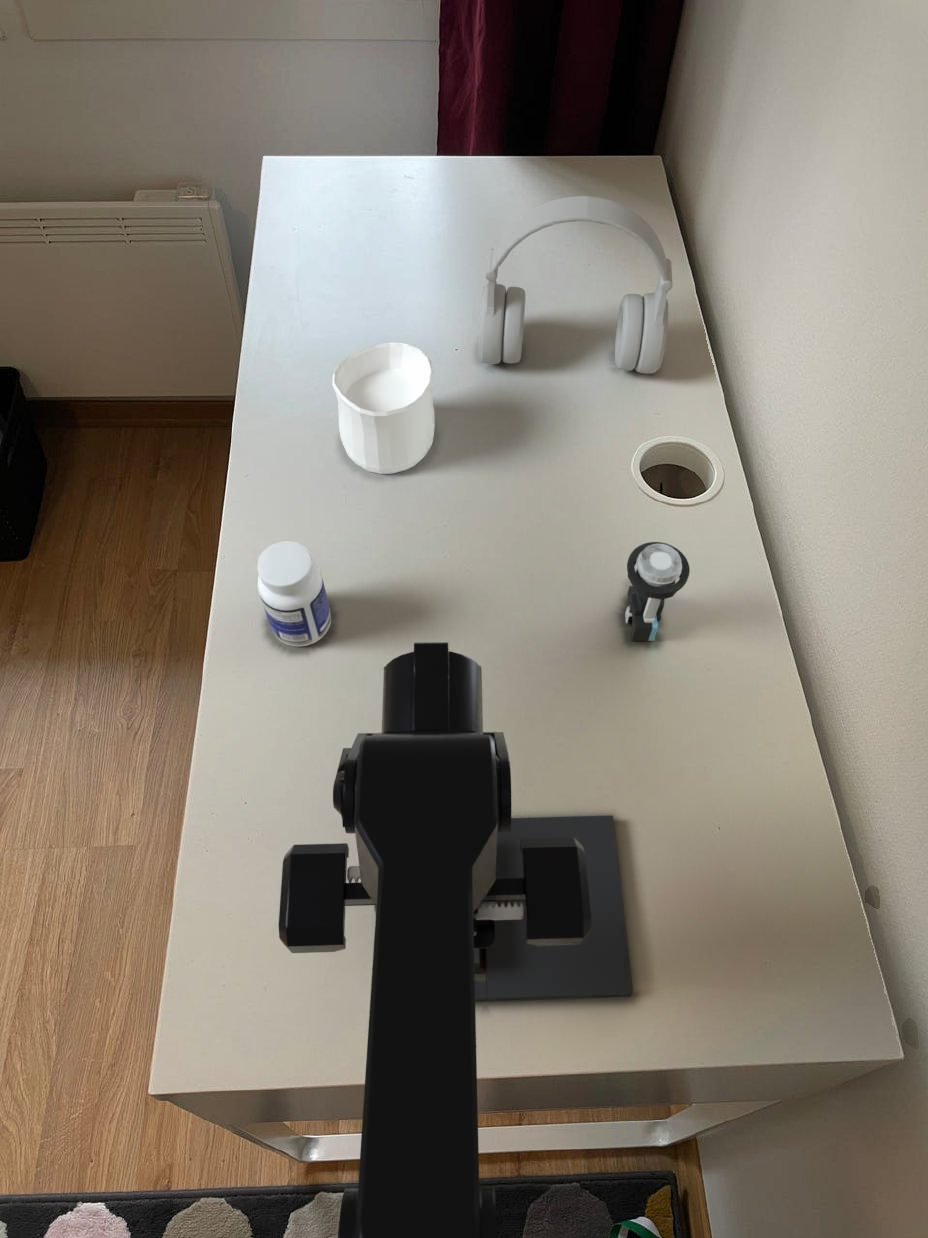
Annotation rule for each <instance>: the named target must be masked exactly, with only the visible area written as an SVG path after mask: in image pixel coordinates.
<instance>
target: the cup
mask: <svg viewBox="0 0 928 1238" xmlns="http://www.w3.org/2000/svg"><path fill="white" fill-rule="evenodd" d="M433 380H434V369H433V365H432V361H431V359H430V358H429V357H428V356H427V355H426V354H425V353H424V352H423V351H422V350H421V349H420V348H418V347H415V346H412V345H410V344H407V343H406V342H405V343H404V342H395V341H394V342H393V341H389V342H384V343H378V344H373V345H372V346H369V347H366V348H363V349H361V350H359V351H357V352H355V353H353V354H352V355H349V356H348V357H346V358H345V359H344V360H342V361H341V362H340V363H339V364H337V367H336V368H335V370H334V372H333V374H332V380H331V381H332V388H333V390H334V393H335V396H336V399H337V406H338V430H339V434H340V435H339V436H340V441H341V443H342V445H343V447H344V450H345V452H346V454H347V456H348V457H349V458H350V459H351V460H352V461H353V462H354V463H355V464H356V465H357V466H359V467H361V468H363V469H364V470H365V471H368V472H370V473H374V474H378V475H391V474H393V475H394V474H396V473H400V472H404V471H408V470H409V469H411V468H413V467H415V466H416V465H417V464H418V463H419V462H420V461H422V460H423V459H424V458H425V456H426V455H427V454H428V452H429V450H430V449H431V448H432V445H433V441H434V436H435V429H436V426H435V424H436V422H435V421H436V420H435V419H436V418H435V408H434V401H433Z"/></svg>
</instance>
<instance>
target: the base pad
mask: <svg viewBox="0 0 928 1238" xmlns="http://www.w3.org/2000/svg"><path fill="white" fill-rule="evenodd" d="M559 837H574V838H575V839H576V840H577V841H578V842H579V843H580V844H581V845H582V846H583V848H584V851H585V857H586V867H587V877H588V887H589V897H590V908H591V930H590V932H589V934H588V936H587V937H586V938H585V939H584V940H583V942H582V943H581V944H580V945H554V946H536V945H531V944H527V943H526V931H527V926H526V910H525V916H524V918H523V919H521V920H495V941H494V943H493V944H492V945H491V946H490V947H488V948H484V960H485V961H484V962H485V980H475V1003H484V1002H515V1001H546V1000H547V1001H548V1000H549V1001H551V1000H577V999H578V1000H579V999H610V998H615V999H616V998H631V997H632V996H633V995H634V989H633V982H632V981H633V980H632V971H631V961H630V953H629V945H628V936H627V926H626V917H625V909H624V901H623V892H622V883H621V876H620V866H619V857H618V850H617V849H618V848H617V840H616V839H617V838H616V832H615V822H614V815H610V814H609V815H576V816H544V817H542V816H541V817H539V816H538V817H511V830H510V832H497V855H496V878H495V879H503V878H523V862H522V853H521V848H520V842H521V839H523V838H559ZM508 902H510V904H511V906H512V907H513V905H514V902H516V903H517V905H518V906H520V903H521V902H523V904H524V906H525V901H506V902H503V903H504V905H505V907H507V904H508ZM501 903H502V902H497V904H498V906H499V907H500V906H501Z"/></svg>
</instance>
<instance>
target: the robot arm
mask: <svg viewBox="0 0 928 1238" xmlns="http://www.w3.org/2000/svg"><path fill="white" fill-rule="evenodd" d="M449 648H450V647H449V642H448V641H443V642H442V641H441V642H435V641H434V642H431V641H430V642H426V641H425V642H414V643H413V651H410V652H407V653H403V654H401V655H399V656H396V657H394V658H392V660H389V662H388V663H387V664H386V665H385V666H384V667H383V680H382V683H383V684H382V687H383V688H382V710H381V712H382V713H381V732H358V733H357V734H356V737H355V739H354V741H353V743H352V746H351V747H343V748H342V752H341V755H340V758H339V763H338V767H337V771H336V774H335V778H334V782H333V787H332V806H333V808H334V810H335V811H336V812H338V814H339V815H340V816H341V820H342V828H344V832H345V833H346V834H355V841H356V849H357V858H358V865H350V866H349V867H347V866H348V859H349V858H350V857H349V856H350V855H349V854H350V847H349V844H348V842H347V843H344V842H343V843H340V842H339V843H312V844H311V843H309V844H308V843H307V844H303V843H302V844H293V845H291V848H290V849H288V851H287V852H286V853H285V854H284V857H283V859H282V868H281V869H282V870H281V881H280V882H281V883H280V898H279V911H278V938H279V940H280V941H281V943H282V944H283V945H284V947H285V948H286V949H287V950H288V951H289V952H290V953H291V954H312V953H313V954H314V953H315V954H317V953H335V952H339V951H343V950H346V948H347V946H346V945H347V938H346V935H345V927H346V907H361V906H362V907H364V906H365V907H366V906H367V907H368V906H374V909H373V910H374V915H375V921H374V939H373V954H372V967H371V968H372V969H371V983H370V997H369V1014H368V1015H369V1016H368V1017H369V1018H368V1028H367V1029H368V1030H367V1042H366V1043H367V1045H366V1059H365V1061H366V1062H365V1075H364V1076H365V1077H364V1090H363V1107H362V1123H361V1136H360V1150H359V1151H360V1152H359V1153H360V1154H359V1168H358V1169H359V1170H358V1180H357V1183H358V1184H357V1187H354V1188H353V1187H347V1188H346V1187H345V1188H344V1190H343V1193H342V1198H341V1204H340V1211H339V1221H338V1230H337V1231H338V1232H337V1238H498V1227H497V1225H498V1224H497V1223H498V1222H497V1205H496V1202H497V1201H496V1191H495V1190H496V1189H495V1185H493V1186H480V1154H479V1152H480V1151H479V1148H480V1147H479V1111H478V1110H479V1108H478V1107H479V1105H478V1067H477V1066H478V1065H477V1028H476V1027H477V1024H476V1023H477V1022H476V1020H477V1018H476V1017H477V1015H476V1002H475V981H476V979H475V978H476V976H475V975H476V974H475V971H474V948H479V949H485V948H488V947H490V946H491V945H492V944H493V943H494V941H495V920H521V919H523V918H524V916H525V910H526V926H527V931H526V943H527V944H531V945H536V946H554V945H580V944H581V943H582V942H583V940H584V939H585V938H586V937H587V936H588V934H589V932H590V930H591V908H590V897H589V887H588V877H587V867H586V857H585V851H584V848H583V846H582V845H581V844H580V843H579V842H578V841H577V840H576V839H575V838H574V837H559V838H523V839H521V842H520V848H521V853H522V862H523V878H503V879H495V878H496V855H497V832H510V830H511V818H512V773H511V771H512V770H511V761H510V755H509V751H508V747H507V742H506V738H505V733H504V732H503V731H484V715H483V714H484V711H483V709H484V708H483V705H484V704H483V671H482V670H483V669H482V666H481V665H479V663H477V662H476V661H475V660H474V659H473V658H471V657H468V656H467V655H464V654H462V653H458V652H454V651H450V650H449ZM353 880H354V882H353ZM359 880H360V882H359ZM347 881H348V882H347ZM506 901H525V906H524V904H523V902H521V903H520V906H518V905H517V903H516V902H514V905H513V907H512V906H511V904H510V902H508V904H507V907H505V905H504V903H503V902H506ZM497 902H502V903H501V906H500V907H499V906H498V904H497Z"/></svg>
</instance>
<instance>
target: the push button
mask: <svg viewBox="0 0 928 1238" xmlns="http://www.w3.org/2000/svg"><path fill="white" fill-rule="evenodd" d="M635 566H636V568H635ZM690 568H691V567H690V563H689V561H688V559H687V558H686V556H685V554H684V553H682V551H681V550H679V549H678V548H677V547H675V546H673V545H671V544H669V543H665V542H662V541H661V542H660V541H649V542H645V543H642V544H639V545H638V546H637V547H635V548H634V549H633V550H632V551H631V553H630V554H629V556H628V559H627V562H626V571H627V578H628V580H629V582H630V584H631V585H629V587H628V591H627V600H628V601H629V605H627V607H626V610H625V612H624V613H625V614H624V617H625V624H629V621H630V618H631V620H632V622H631V627H630V631H629V636H630V641H631V642H642V641H643V642H654V641H655V639H656V638H655V637H656V635H657V631H658V629H659V622H661V620H662V612H663V610H664V607H665V603H666V601H665V600H667V599H670V598H673V597H674V596H675V595H676V594H677V592H679V591H680V590H682V588H684V587H685V585H686V584H687V582H688V579H689V576H690V571H691V569H690Z"/></svg>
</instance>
